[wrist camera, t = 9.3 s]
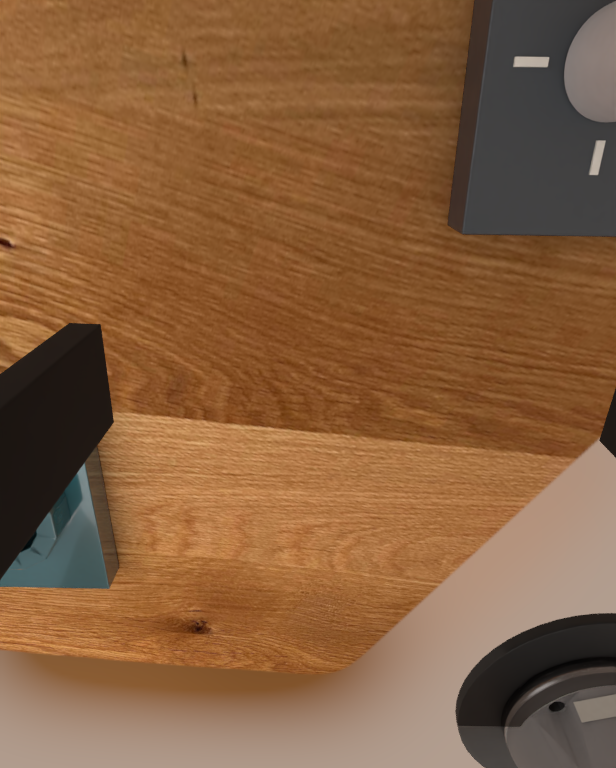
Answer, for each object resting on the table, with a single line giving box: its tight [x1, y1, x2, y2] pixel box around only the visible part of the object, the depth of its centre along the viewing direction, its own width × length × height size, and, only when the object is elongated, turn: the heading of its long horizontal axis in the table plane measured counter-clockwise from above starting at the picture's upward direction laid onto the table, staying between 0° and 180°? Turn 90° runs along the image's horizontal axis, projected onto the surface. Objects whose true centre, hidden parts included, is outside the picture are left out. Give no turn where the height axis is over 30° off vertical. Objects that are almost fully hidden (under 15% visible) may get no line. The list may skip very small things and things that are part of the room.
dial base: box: [448, 0, 616, 237], centre depth 23 cm, size 14×11×3 cm
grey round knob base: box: [0, 446, 119, 589], centre depth 33 cm, size 14×10×4 cm
